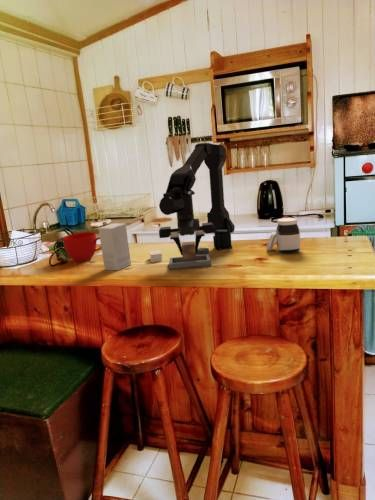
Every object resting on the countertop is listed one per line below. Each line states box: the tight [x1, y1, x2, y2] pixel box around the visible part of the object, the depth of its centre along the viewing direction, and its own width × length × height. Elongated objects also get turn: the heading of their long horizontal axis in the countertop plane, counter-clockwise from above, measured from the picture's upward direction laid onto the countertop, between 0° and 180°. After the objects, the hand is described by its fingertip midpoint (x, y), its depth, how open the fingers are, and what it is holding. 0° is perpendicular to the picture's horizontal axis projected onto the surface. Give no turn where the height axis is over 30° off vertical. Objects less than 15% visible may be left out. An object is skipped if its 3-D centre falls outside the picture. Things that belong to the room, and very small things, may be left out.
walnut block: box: [181, 241, 196, 260], centre depth 139 cm, size 4×4×5 cm
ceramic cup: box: [62, 231, 102, 263], centre depth 161 cm, size 13×17×10 cm
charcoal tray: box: [168, 253, 212, 271], centre depth 140 cm, size 14×9×2 cm, turn 91°
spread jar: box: [266, 217, 301, 255], centre depth 144 cm, size 12×11×12 cm
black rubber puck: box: [196, 247, 211, 258], centre depth 148 cm, size 5×5×3 cm
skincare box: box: [98, 222, 132, 271], centre depth 144 cm, size 8×7×16 cm
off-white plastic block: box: [149, 249, 163, 263], centre depth 151 cm, size 4×6×3 cm, turn 9°
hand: (189, 254), depth 139 cm, fingers closed on walnut block, 4 cm apart
